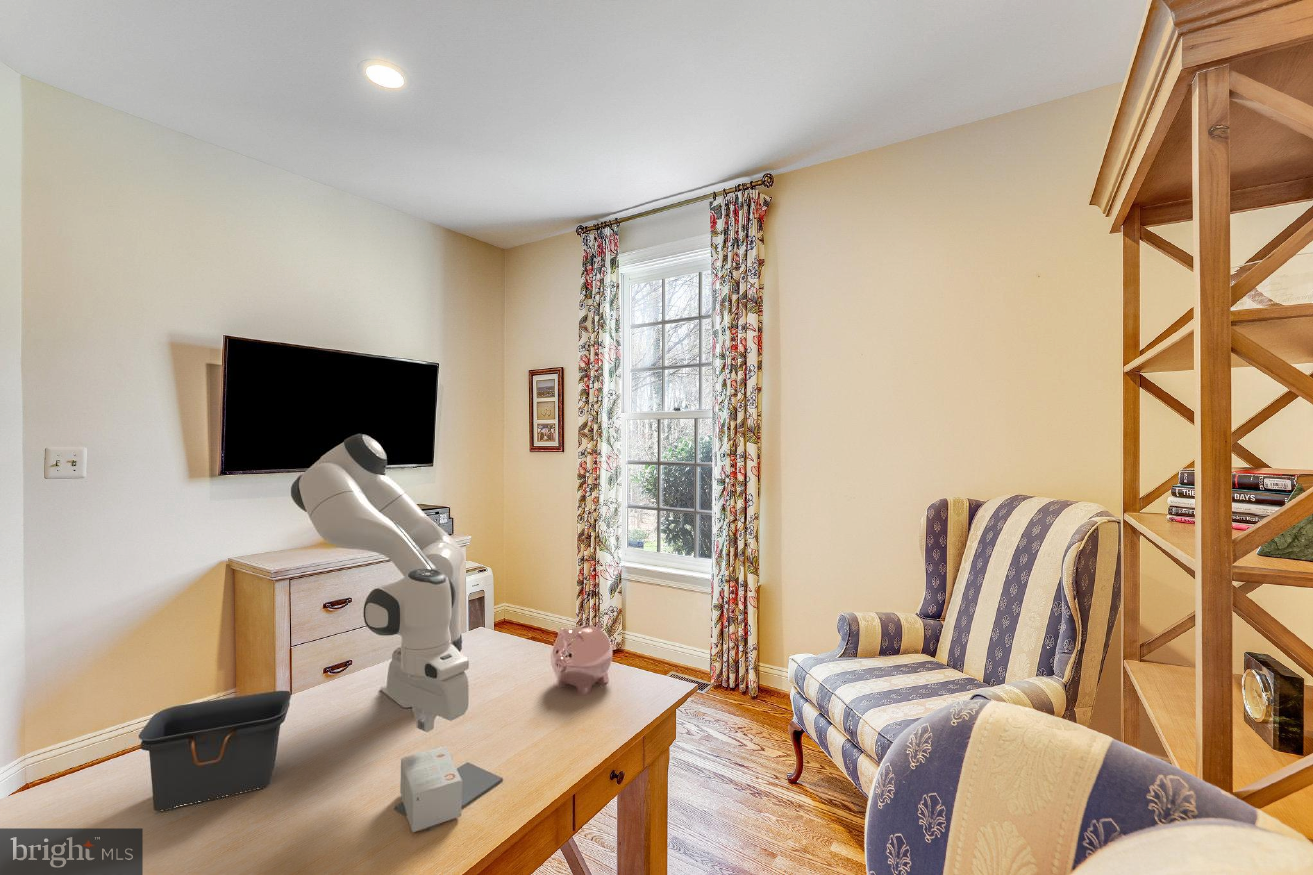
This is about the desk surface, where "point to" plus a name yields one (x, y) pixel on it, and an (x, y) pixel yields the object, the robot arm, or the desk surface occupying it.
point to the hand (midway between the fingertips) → (425, 729)
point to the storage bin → (213, 747)
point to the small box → (430, 788)
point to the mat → (468, 785)
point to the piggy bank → (581, 657)
